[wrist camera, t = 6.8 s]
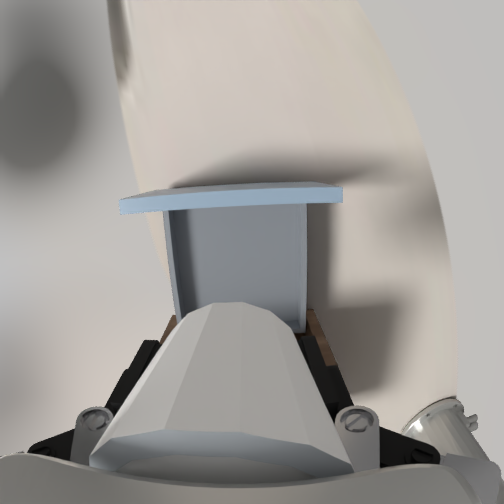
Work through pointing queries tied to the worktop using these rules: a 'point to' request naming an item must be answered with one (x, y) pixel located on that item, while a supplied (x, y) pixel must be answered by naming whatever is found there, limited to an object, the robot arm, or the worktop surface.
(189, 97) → the worktop surface
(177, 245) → the tray
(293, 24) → the worktop surface
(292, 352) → the shot glass
